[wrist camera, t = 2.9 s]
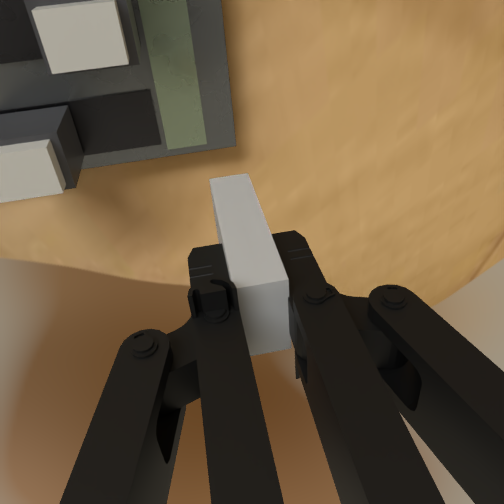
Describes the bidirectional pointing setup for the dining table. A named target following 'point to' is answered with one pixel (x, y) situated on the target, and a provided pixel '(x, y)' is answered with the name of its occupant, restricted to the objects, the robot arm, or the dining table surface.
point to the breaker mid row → (85, 34)
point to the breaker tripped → (38, 153)
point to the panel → (132, 84)
